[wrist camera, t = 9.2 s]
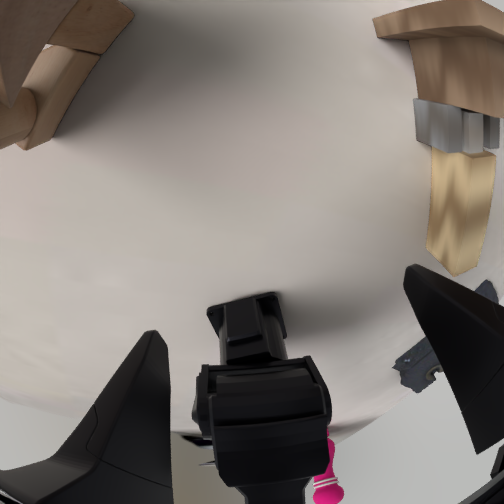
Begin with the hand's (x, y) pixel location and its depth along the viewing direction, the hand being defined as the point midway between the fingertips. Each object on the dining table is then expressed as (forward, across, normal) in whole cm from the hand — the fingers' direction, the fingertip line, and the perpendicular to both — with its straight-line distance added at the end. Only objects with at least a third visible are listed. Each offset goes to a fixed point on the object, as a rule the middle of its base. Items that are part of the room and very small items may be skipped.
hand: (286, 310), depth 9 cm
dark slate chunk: (+13, -27, +31) cm, 43 cm away
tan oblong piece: (+12, -18, +3) cm, 22 cm away
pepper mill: (+12, -2, +53) cm, 54 cm away
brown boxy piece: (+12, -18, -7) cm, 23 cm away
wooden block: (+12, +10, -13) cm, 20 cm away
